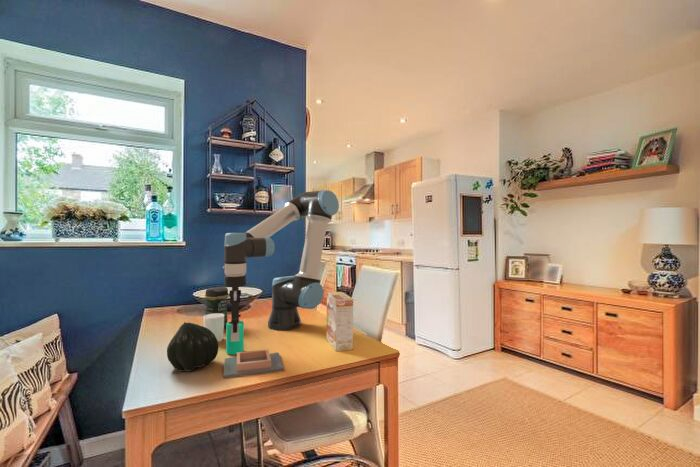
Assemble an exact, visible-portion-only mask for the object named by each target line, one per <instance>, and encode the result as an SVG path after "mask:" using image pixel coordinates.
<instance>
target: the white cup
mask: <svg viewBox="0 0 700 467" xmlns="http://www.w3.org/2000/svg"><path fill="white" fill-rule="evenodd" d="M202 319H203V327H205V328H207V329H209V330H210V331H212V332H213V333H214V335H215V337H216V339H217V341H218V343H219V342H221V341H223V339H224V329H225V328H224V314H220V313H214V314H208V315H206V314H205V315H203V318H202Z"/></svg>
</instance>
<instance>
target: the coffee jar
mask: <svg viewBox="0 0 700 467" xmlns="http://www.w3.org/2000/svg"><path fill="white" fill-rule="evenodd" d="M228 297H229V290H228V287H226V286H216V287H209V288H206V290H205V295H204V298H205V301H206V302H205V303H206V304H205V305H206V309H205V315H208V314H214V313H220V314H224V329H225V328H226V323H228V309H227V304H228V303H227V302H228Z"/></svg>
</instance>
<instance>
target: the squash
mask: <svg viewBox="0 0 700 467" xmlns="http://www.w3.org/2000/svg"><path fill="white" fill-rule="evenodd" d="M218 352H219V342H218V341H217V339H216V337H215V335H214V333H213V332H212V331H210V330H209V329H207V328H205V327H204V325H203V326H202V325H199V324H196V323H193V322H186V321H185V322H183V323H182V324H181V325H180V326H179V328H178V329H177V331H176V333H175V334H174V335H173V337H172V338H171V340H170V341H169V342H168V345H167V347H166V356H167V360H168V362H169V363H170V364H171V365H172V367H173V368H174V369H176V371H181V372H183V371H186V372H192V371H194V370H195V369H196V368H202V367H204V365H205V366H206V365H208V364H209V365H210V363H212V362H213V361H214V360H215V359H216V357H217V355H218Z"/></svg>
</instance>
